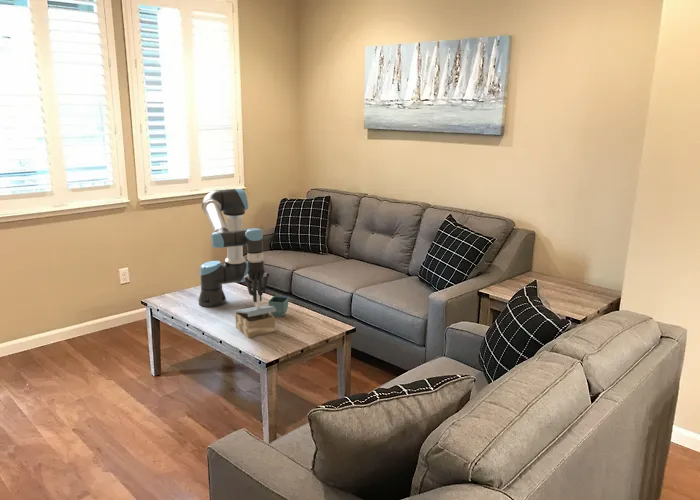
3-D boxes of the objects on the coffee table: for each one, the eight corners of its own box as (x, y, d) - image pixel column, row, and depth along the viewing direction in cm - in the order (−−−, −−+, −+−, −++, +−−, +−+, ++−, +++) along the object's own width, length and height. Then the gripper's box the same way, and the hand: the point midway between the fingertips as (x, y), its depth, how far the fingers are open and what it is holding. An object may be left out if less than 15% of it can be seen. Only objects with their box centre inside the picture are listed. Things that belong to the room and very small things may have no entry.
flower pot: (284, 318, 295) (284, 302, 293) (268, 317, 297) (267, 301, 295) (289, 313, 304) (289, 297, 301) (273, 311, 305) (273, 296, 303)
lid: (235, 315, 281) (234, 310, 281) (261, 310, 289) (261, 305, 289) (248, 317, 267) (247, 312, 267) (275, 311, 274) (275, 306, 274)
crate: (236, 327, 283) (235, 312, 281) (261, 321, 291) (261, 307, 289) (248, 338, 270) (248, 322, 268) (275, 332, 278) (274, 316, 276)
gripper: (246, 264, 262) (248, 312, 267) (271, 260, 269) (273, 307, 274) (239, 261, 268) (242, 308, 274) (264, 257, 275) (266, 303, 280)
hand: (257, 307), depth 274 cm, fingers closed
